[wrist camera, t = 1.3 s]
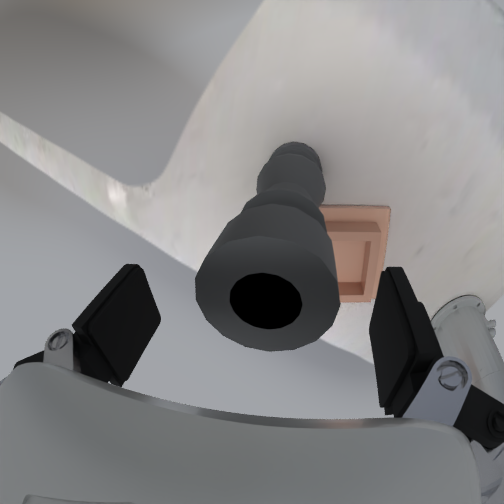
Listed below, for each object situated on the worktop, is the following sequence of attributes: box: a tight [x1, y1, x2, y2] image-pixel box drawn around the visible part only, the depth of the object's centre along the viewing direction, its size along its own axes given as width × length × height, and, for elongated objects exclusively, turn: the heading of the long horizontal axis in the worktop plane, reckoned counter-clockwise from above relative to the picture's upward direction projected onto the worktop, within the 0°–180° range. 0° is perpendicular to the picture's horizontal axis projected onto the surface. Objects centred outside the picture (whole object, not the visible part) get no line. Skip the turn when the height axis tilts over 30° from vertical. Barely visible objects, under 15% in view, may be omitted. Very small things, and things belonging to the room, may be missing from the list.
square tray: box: [319, 205, 391, 302], centre depth 35 cm, size 14×14×4 cm
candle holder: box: [195, 142, 340, 351], centre depth 21 cm, size 6×6×25 cm
